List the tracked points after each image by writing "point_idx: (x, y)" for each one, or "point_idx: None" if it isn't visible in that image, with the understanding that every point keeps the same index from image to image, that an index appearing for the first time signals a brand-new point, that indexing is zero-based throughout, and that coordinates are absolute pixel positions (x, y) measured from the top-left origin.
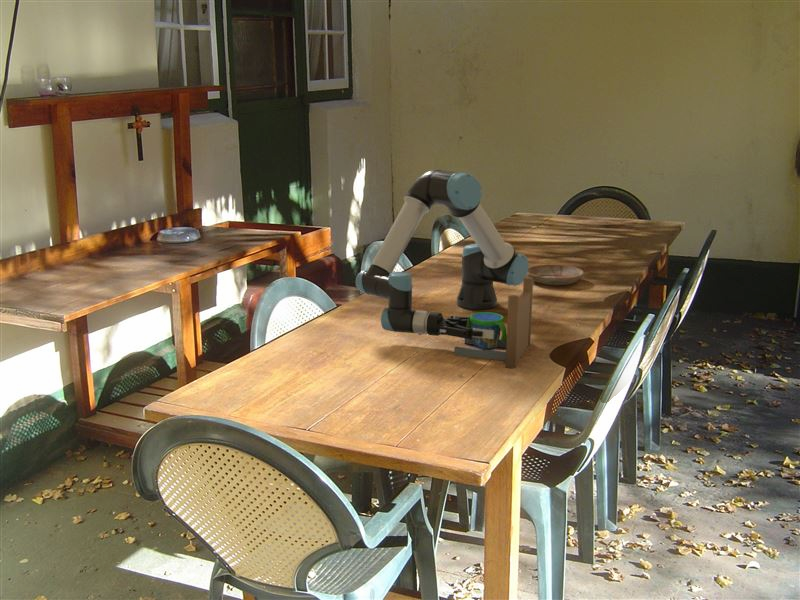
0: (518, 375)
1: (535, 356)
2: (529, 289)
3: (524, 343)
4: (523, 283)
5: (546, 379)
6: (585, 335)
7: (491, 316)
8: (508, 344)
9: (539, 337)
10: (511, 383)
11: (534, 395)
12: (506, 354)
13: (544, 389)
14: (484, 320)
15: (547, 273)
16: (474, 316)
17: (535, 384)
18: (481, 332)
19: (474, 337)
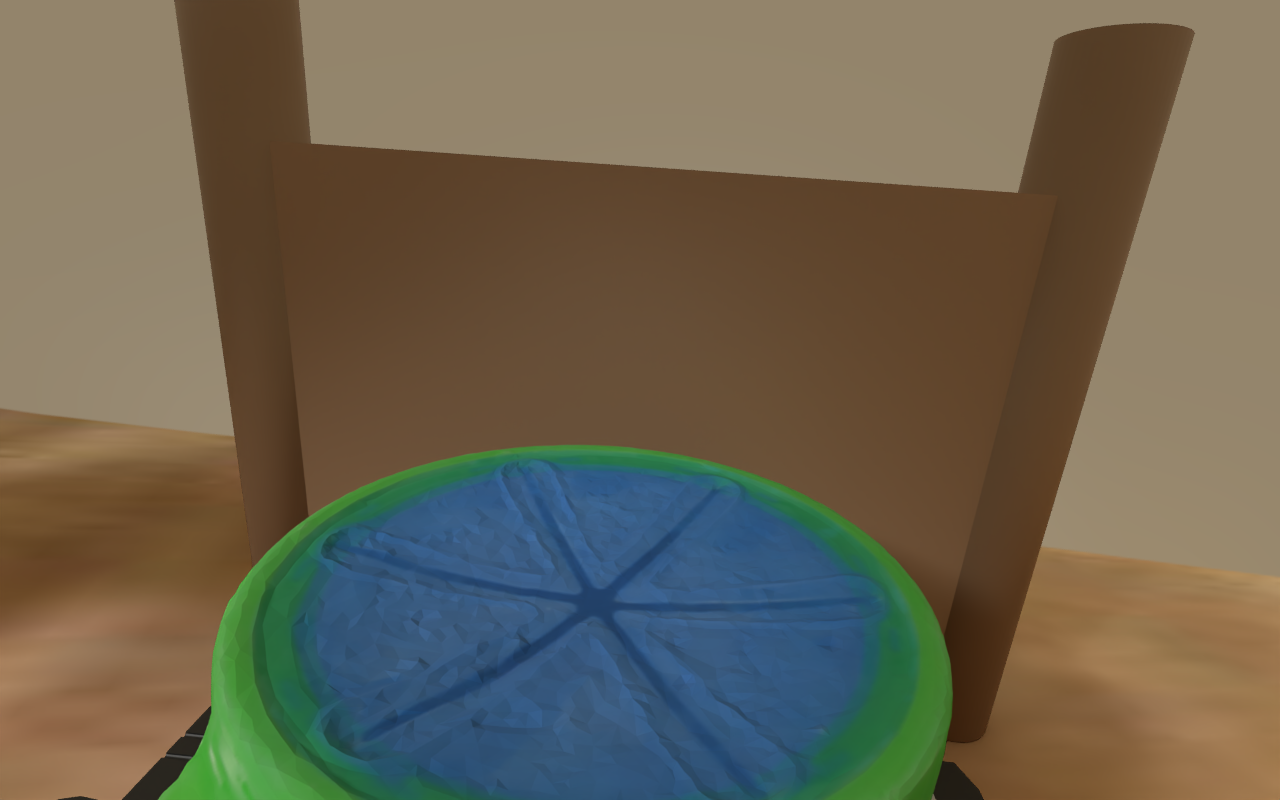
0: (1069, 658)
1: None
2: (308, 123)
3: None
4: (217, 46)
5: None
6: (226, 444)
7: (466, 546)
8: (1039, 546)
9: (160, 577)
10: (1262, 687)
11: (1273, 589)
12: (1004, 644)
13: (1139, 560)
14: (754, 612)
15: None
16: (579, 794)
17: (1117, 587)
18: (958, 772)
19: None
